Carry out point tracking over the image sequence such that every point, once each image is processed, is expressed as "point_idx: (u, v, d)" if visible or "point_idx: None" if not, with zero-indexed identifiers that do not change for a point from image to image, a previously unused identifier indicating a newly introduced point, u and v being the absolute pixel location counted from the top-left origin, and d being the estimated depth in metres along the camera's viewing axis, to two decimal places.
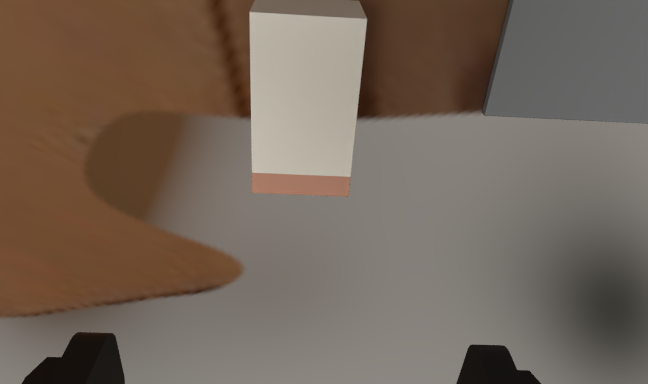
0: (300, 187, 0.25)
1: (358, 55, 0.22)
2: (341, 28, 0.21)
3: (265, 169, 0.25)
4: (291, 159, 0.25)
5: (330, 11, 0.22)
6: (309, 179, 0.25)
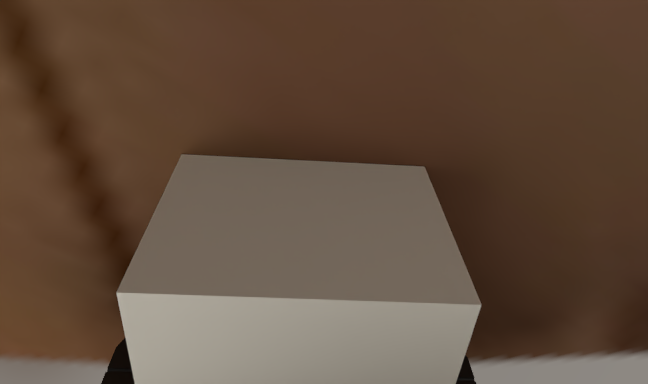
0: None
1: (444, 377, 0.08)
2: (400, 325, 0.07)
3: None
4: None
5: (365, 252, 0.08)
6: None
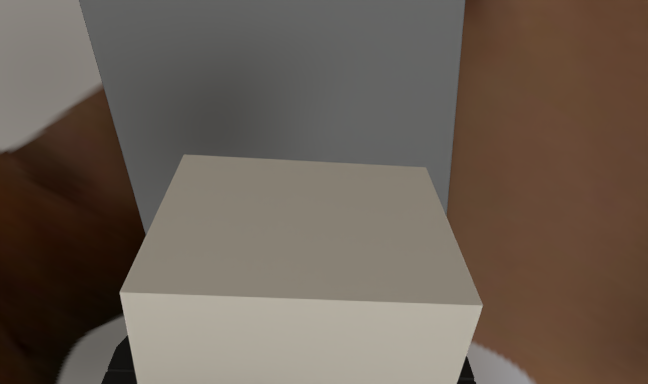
0: None
1: (444, 377, 0.08)
2: (401, 325, 0.07)
3: None
4: None
5: (367, 252, 0.08)
6: None
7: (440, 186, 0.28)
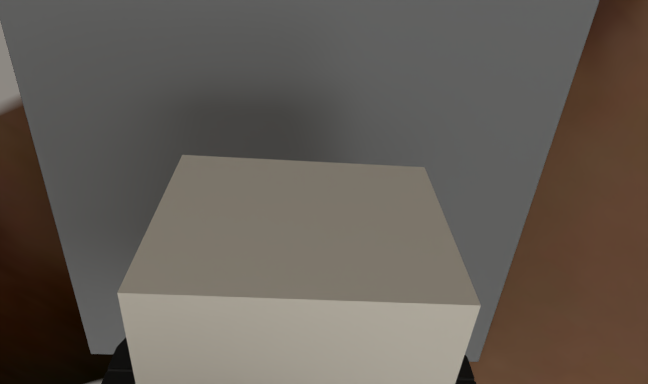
0: None
1: (443, 377, 0.08)
2: (400, 325, 0.07)
3: None
4: None
5: (365, 253, 0.08)
6: None
7: (495, 278, 0.21)
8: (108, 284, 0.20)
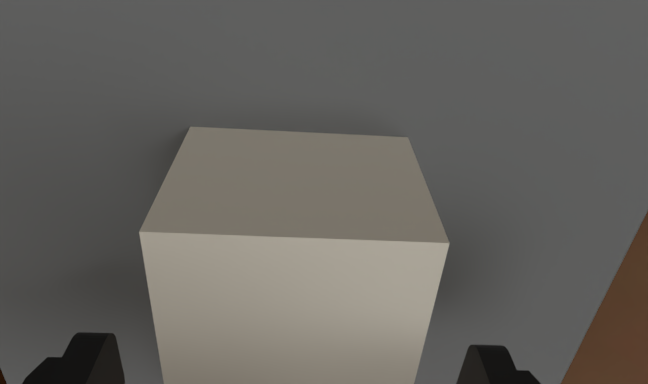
0: None
1: (420, 312, 0.09)
2: (380, 261, 0.08)
3: None
4: None
5: (351, 203, 0.09)
6: None
7: (550, 376, 0.16)
8: None
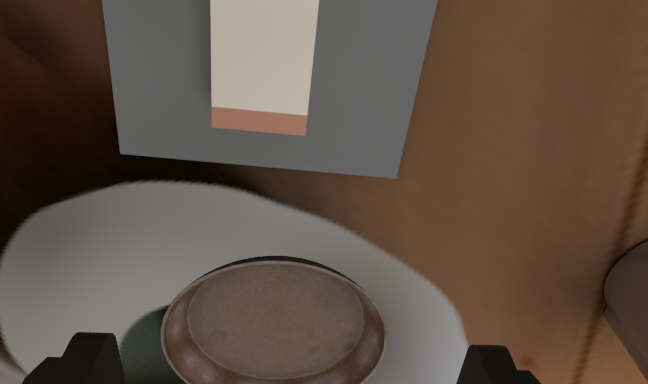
0: (258, 124, 0.26)
1: None
2: None
3: (224, 103, 0.26)
4: (250, 94, 0.25)
5: None
6: (267, 116, 0.26)
7: (405, 106, 0.30)
8: (138, 93, 0.29)
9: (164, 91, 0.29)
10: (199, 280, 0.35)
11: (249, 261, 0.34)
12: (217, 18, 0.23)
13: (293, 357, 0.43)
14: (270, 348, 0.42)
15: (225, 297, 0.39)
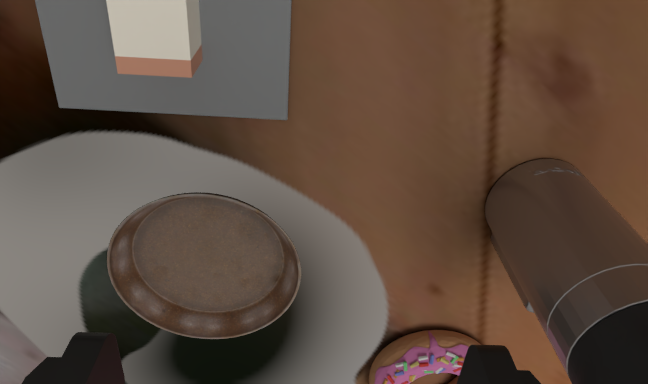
0: (153, 69, 0.33)
1: None
2: None
3: (124, 53, 0.33)
4: (143, 45, 0.33)
5: None
6: (159, 62, 0.33)
7: (283, 56, 0.37)
8: (67, 55, 0.37)
9: (87, 52, 0.37)
10: (132, 213, 0.42)
11: (172, 195, 0.41)
12: None
13: (229, 290, 0.50)
14: (208, 282, 0.49)
15: (162, 234, 0.46)
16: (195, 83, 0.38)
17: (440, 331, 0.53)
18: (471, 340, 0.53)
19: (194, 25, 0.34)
